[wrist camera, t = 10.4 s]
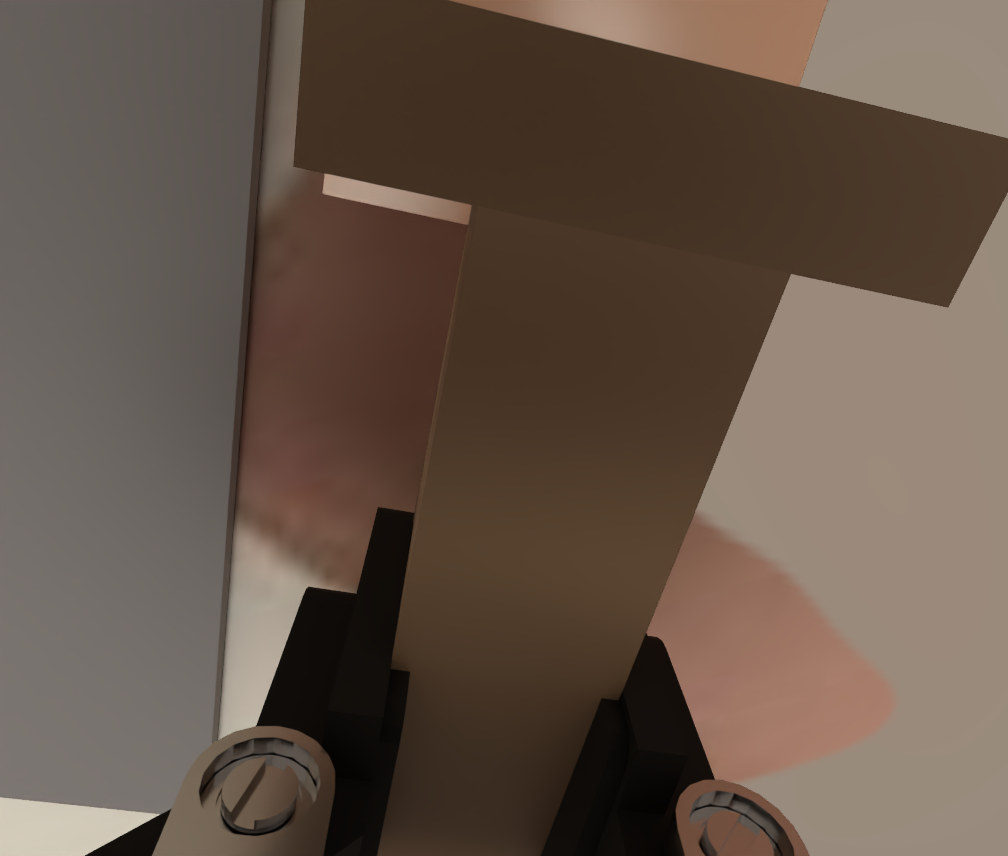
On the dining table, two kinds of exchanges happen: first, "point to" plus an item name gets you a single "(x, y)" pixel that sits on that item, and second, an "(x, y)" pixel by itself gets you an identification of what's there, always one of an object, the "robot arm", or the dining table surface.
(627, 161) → the wooden t-shaped block
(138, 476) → the mat
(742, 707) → the dining table surface
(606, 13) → the tile
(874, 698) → the dining table surface
